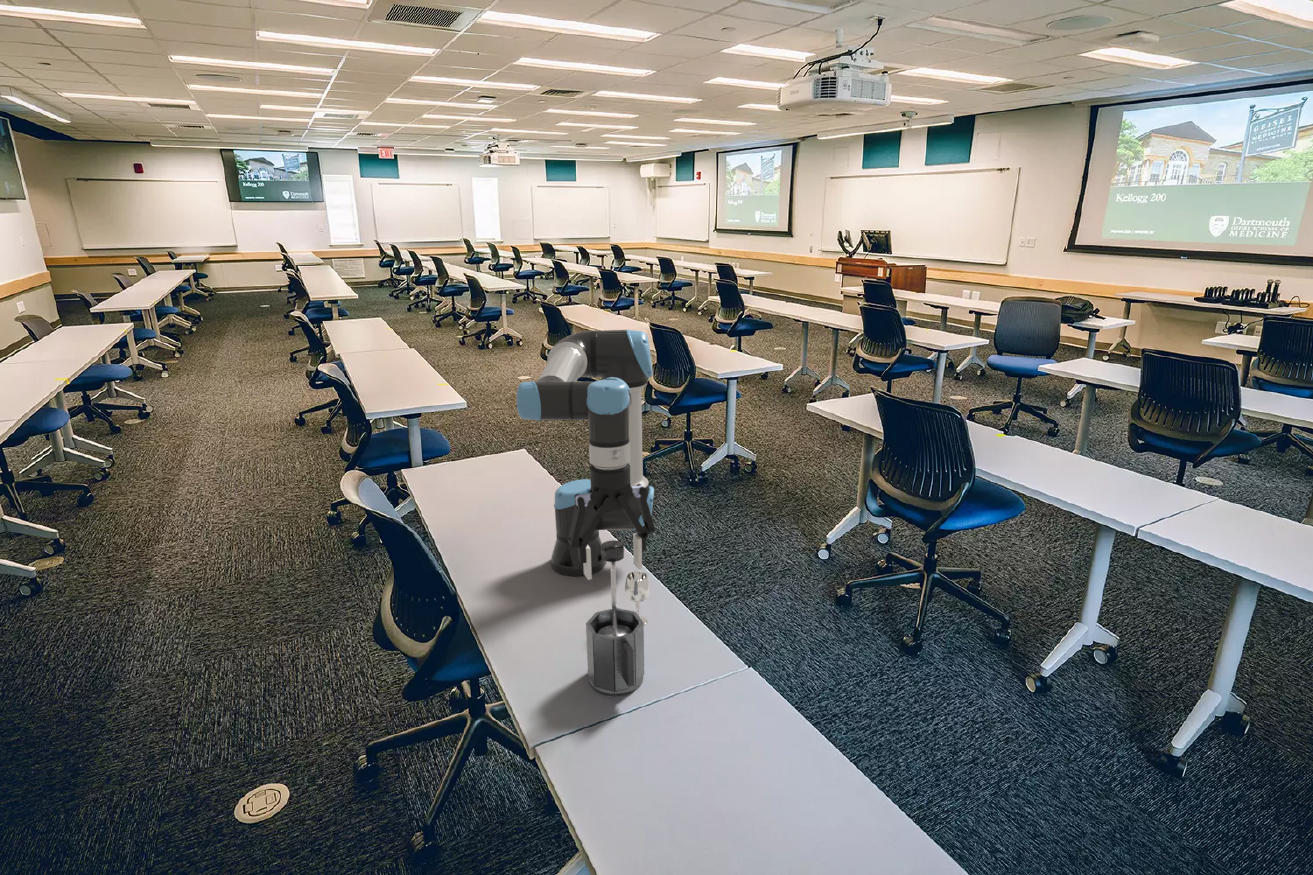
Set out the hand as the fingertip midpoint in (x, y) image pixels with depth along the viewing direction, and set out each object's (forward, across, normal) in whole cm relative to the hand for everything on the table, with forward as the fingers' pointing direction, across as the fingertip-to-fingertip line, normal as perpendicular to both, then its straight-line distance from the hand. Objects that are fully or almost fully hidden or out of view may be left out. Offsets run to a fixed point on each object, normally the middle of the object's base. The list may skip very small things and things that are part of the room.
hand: (613, 571), depth 135 cm
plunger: (+15, 0, 0) cm, 15 cm away
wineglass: (+25, +12, +18) cm, 33 cm away
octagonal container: (+25, 0, -2) cm, 25 cm away
